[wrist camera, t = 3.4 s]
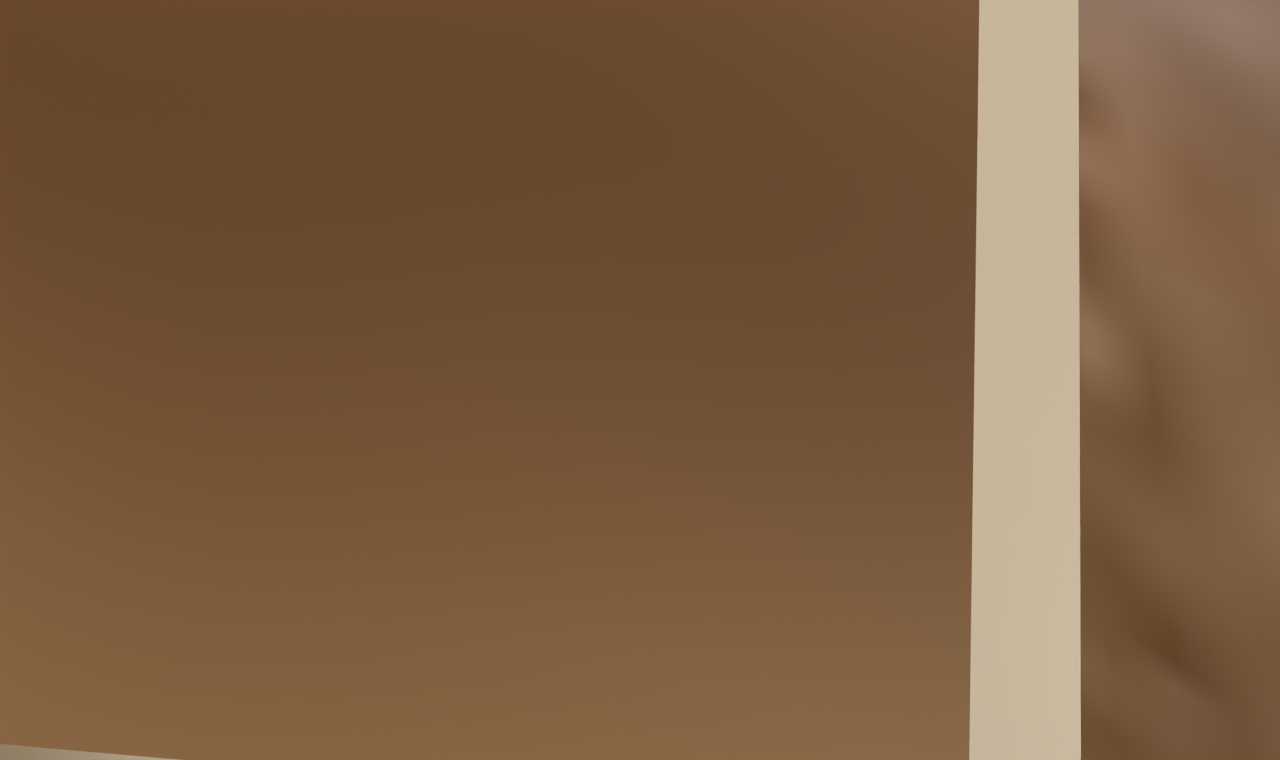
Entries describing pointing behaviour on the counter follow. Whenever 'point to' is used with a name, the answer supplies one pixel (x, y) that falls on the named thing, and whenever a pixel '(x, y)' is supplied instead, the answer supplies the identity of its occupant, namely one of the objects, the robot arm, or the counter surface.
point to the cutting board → (1009, 394)
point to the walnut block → (487, 378)
